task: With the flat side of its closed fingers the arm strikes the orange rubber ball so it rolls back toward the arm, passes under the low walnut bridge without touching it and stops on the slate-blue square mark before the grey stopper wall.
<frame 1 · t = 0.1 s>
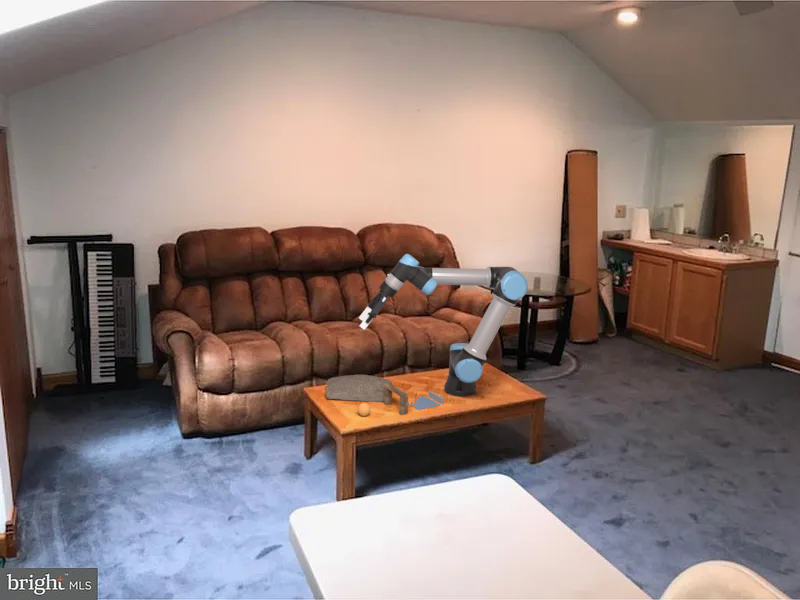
hand: (361, 323, 296), 36 cm above the table, tool tilted 35°, fingers open, 13 cm apart
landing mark: (421, 403, 305), on the table
stone tablet: (359, 395, 313), on the table
ball: (363, 409, 288), on the table
bridge: (395, 408, 297), on the table
stopper wall: (436, 399, 309), on the table
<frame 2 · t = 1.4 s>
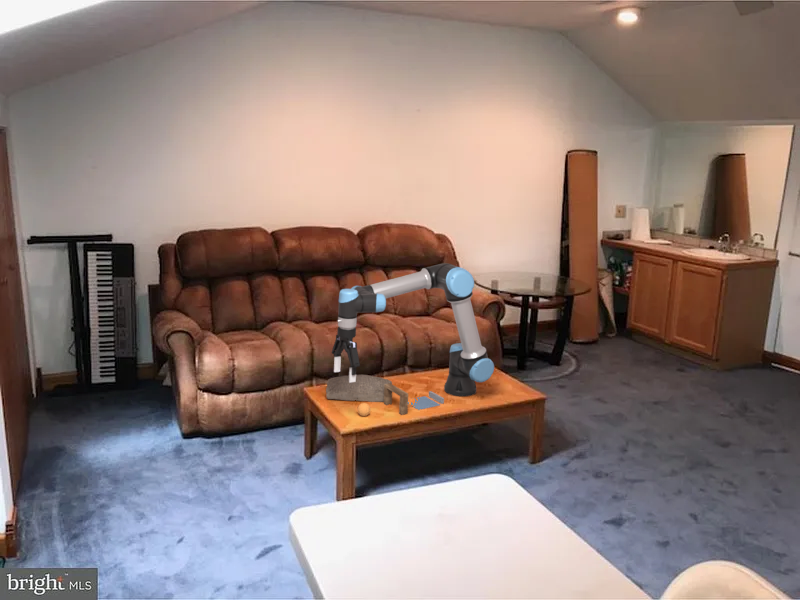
hand: (344, 376, 280), 18 cm above the table, tool pointing down, fingers open, 13 cm apart
nothing on the table moved.
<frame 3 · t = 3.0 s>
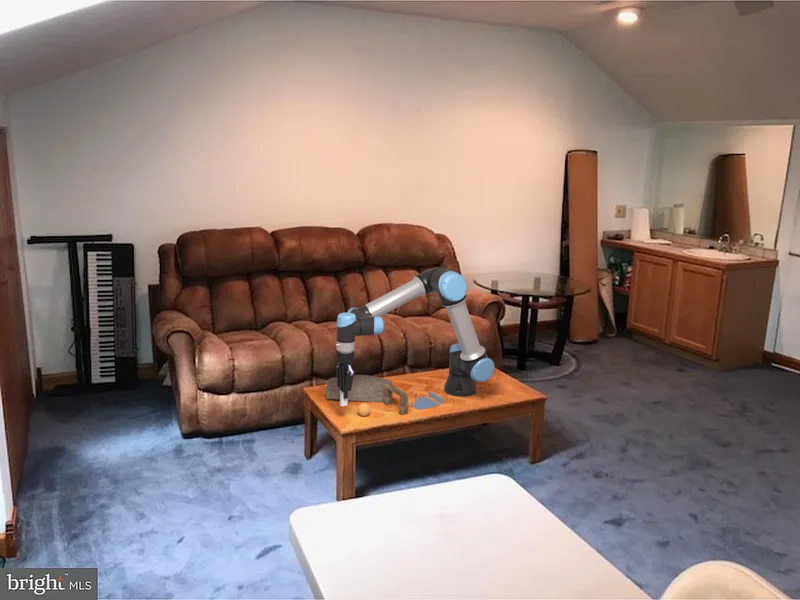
hand: (343, 405, 282), 7 cm above the table, tool pointing down, fingers closed
nothing on the table moved.
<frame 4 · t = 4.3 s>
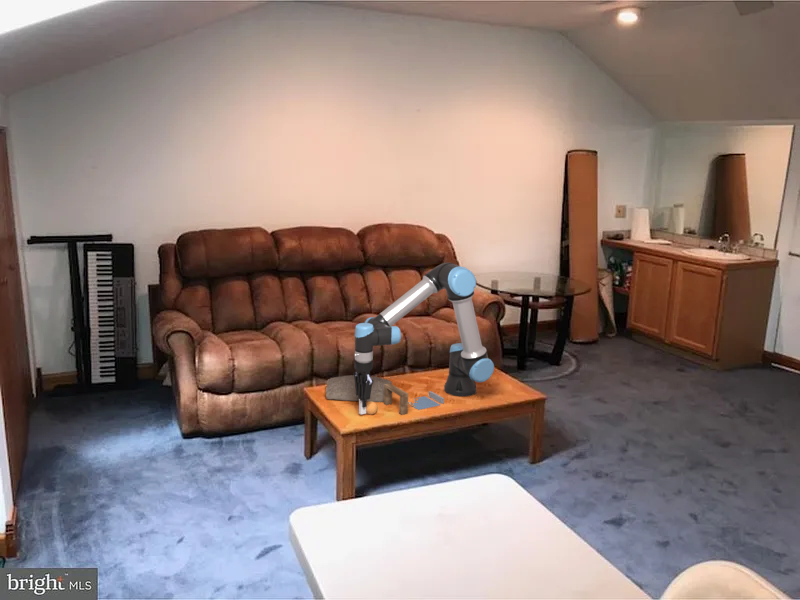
hand: (362, 413, 288), 1 cm above the table, tool pointing down, fingers closed
ball: (371, 407, 290), on the table, touching gripper
everything else where it was.
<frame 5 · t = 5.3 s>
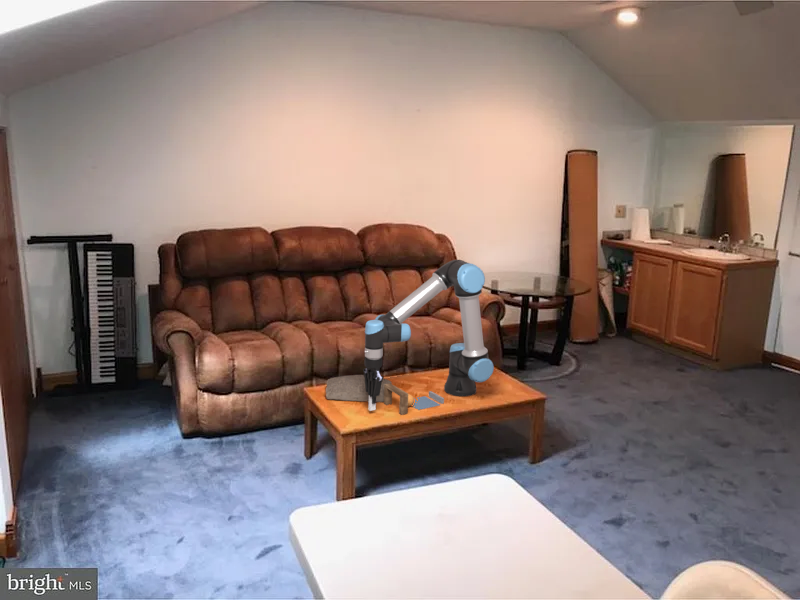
hand: (372, 409, 290), 2 cm above the table, tool pointing down, fingers closed
ball: (407, 400, 300), on the table
everything else where it was.
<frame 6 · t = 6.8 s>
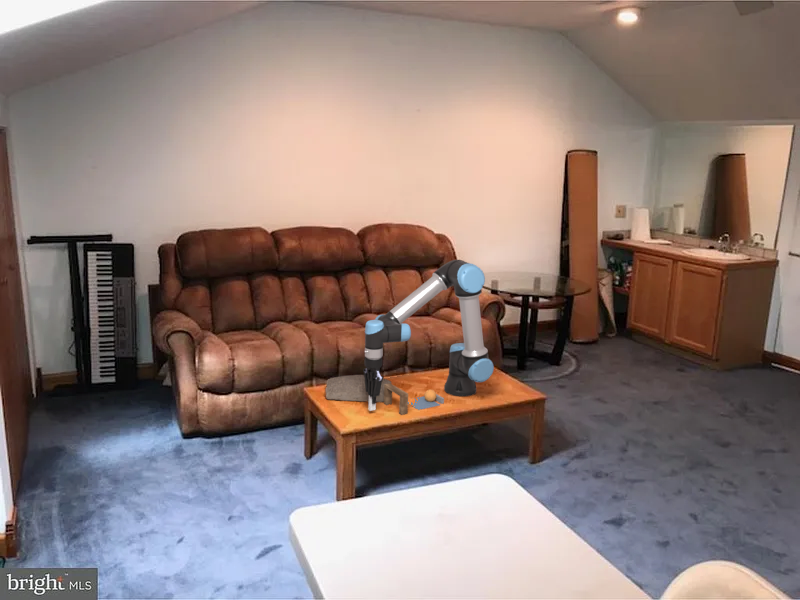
hand: (372, 409, 290), 2 cm above the table, tool pointing down, fingers closed
ball: (430, 395, 306), on the table
everything else where it was.
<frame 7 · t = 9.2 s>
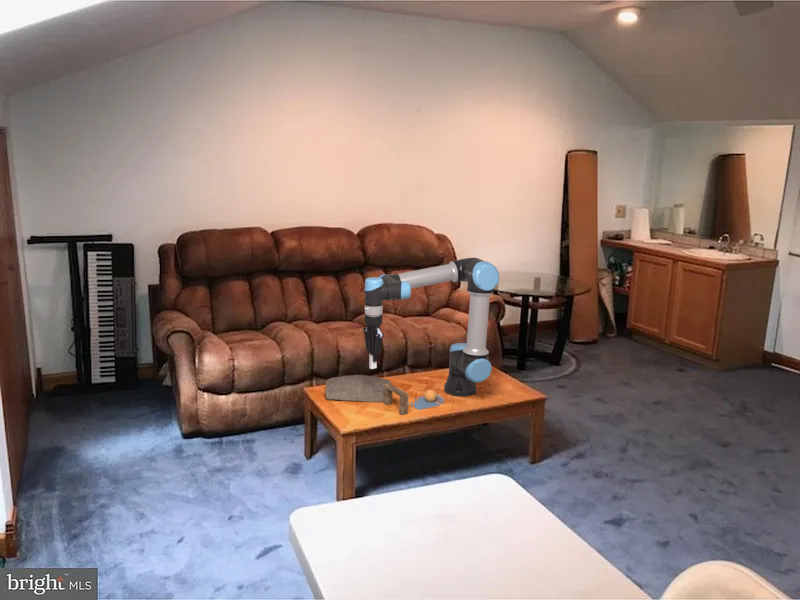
hand: (372, 368, 289), 19 cm above the table, tool pointing down, fingers closed
nothing on the table moved.
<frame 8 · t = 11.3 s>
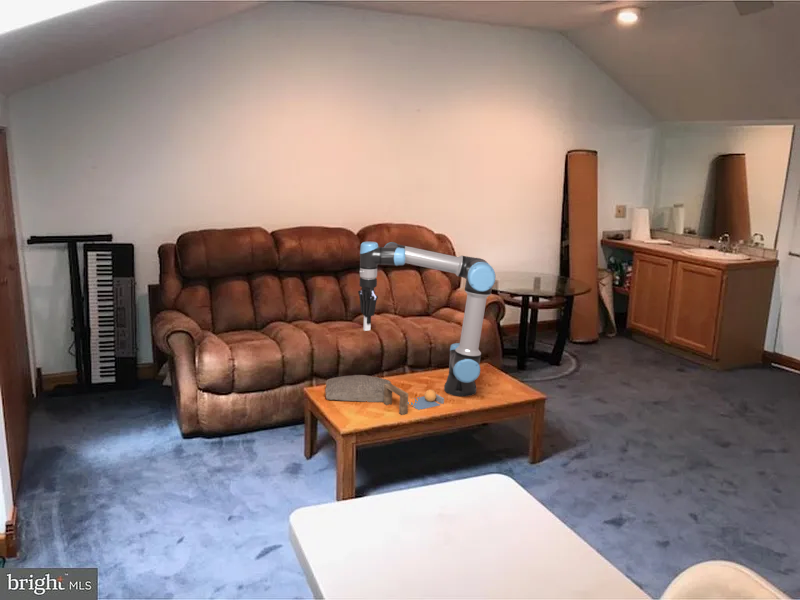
hand: (366, 330, 299), 32 cm above the table, tool pointing down, fingers closed
nothing on the table moved.
at the end: ball 4.6 cm from the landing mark (horizontally); ball never touched bridge; ball at rest at the end (0.0 cm/s) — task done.
